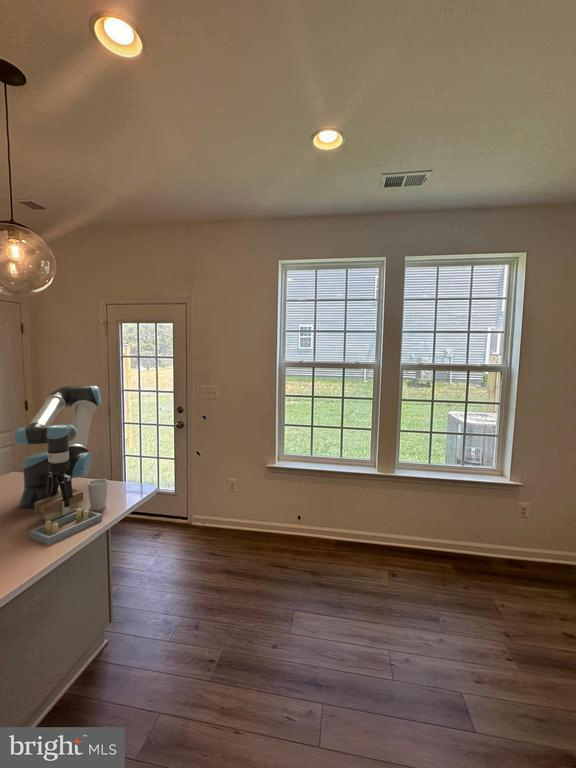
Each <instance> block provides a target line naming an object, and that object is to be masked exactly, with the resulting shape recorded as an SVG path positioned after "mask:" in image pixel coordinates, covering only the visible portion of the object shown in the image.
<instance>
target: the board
mask: <svg viewBox="0 0 576 768" xmlns="http://www.w3.org/2000/svg"><path fill="white" fill-rule="evenodd" d="M72 491H73V498H71V499H69V506H70V505H72V504H75V503H77V504H78V503H80V502H82V501H84V492H83V491H81V490H79V489H74V488H72ZM61 500H63V498H62V494H61V492H59V494H57V495H54V496H52V497H49V498H46V499H43V500H40V501H37V502H35V508H34V512H36V513H38V514H41V515H42V514H44V515H46V514H49V513H51V512H54V511H56V510H59V509H62V501H61Z"/></svg>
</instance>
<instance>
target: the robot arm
mask: <svg viewBox="0 0 576 768" xmlns="http://www.w3.org/2000/svg"><path fill="white" fill-rule="evenodd" d="M100 390H101V389H100V387H99V386H97V385H64V386H61V387H59V388H56V389H54V390H52V392H50V393H49V394H48V395H46V397H45V399H44V403H43V404H42V407H40V409H39V411H38V412H37V413H36V414H35V416H34V417H33V418H32V420H31V422H30V423H29V424H28V425H27V427H20V428H18V429H16V431H15V433H14V440H15V443H16V444H17V445H20V446H21V445H22V446H23V445H24V446H25V445H26V446H29V445H30V446H31V445H40V444H41V445H42V444H44V445H45V444H47V445H46V446H47V451H43V452H42V451H41V452H37V453H35V454H31V455H29V456H27V457H25V458H24V459H23V467H22V469H23V470H22V471H23V487H24V489H23V491H22V494H21V496H20V501H19V507H21V508H22V509H35V502H37V501H40V500H43V499H46V498H49V497H52V496H54V495H57V494H60V493H61V494H62V498H63V500H61V501H62V515H63V516H67V515H69V514H70V513H71V512H70V511H69V499H71V498H73V491H72V489H73V484H72V480H73V479H77V478H82V477H85V476H86V475H88V473H89V472H90V470H91V466H92V460H93V455H92V453H91V452H90V450H89V449H88V448H87V445H88V440H89V434H90V430H91V429H90V428H91V424H92V418H93V412H95V411H96V410H97V408H98V407H100V406H101V405H102V395H101V391H100ZM66 407H71V408H72V409H73V415H72V416H73V417H72V419H71V420H72V421H71V424H57V425H56V424H55V425H54V424H53V425H52V423H53V422H54V421H55V420H56V417H57V416H58V414H59V413H60V411H61V410H63V409H65V408H66ZM58 489H60V491H59V490H58Z"/></svg>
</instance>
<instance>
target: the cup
mask: <svg viewBox="0 0 576 768" xmlns="http://www.w3.org/2000/svg"><path fill="white" fill-rule="evenodd" d="M87 488H88V498H89V504H90V505H89V508H90V511H99V510H103V509H105V508H106V507H107V494H108V493H107V492H108V479H106V478H97V479H92V480H90V481H88V482H87Z"/></svg>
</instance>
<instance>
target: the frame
mask: <svg viewBox="0 0 576 768" xmlns="http://www.w3.org/2000/svg"><path fill="white" fill-rule="evenodd" d="M82 519H83V521H82ZM74 520H76V522H78V523H77V524H75V525H73V526H70V527H68V528H66V529H63V530H60V531H59V527H60V526H62V525H65V524H67V523H69V522H72V521H74ZM101 521H103V514H101V513H99V512H95V511H93V510H89V509H85V508H82V507H79V508H78V507H77V509H76V510H75V511H74V512H71V514H70V513H69V514H66V515H64V516H61V517H59V518H57V519H54V520H53V521H52V520H51V521H50V520H49V521H46V520H45V521H44V523H45V524H43V525H40V526H38V527H36V528H33V529H31V530H29V531H28V533H29V538H31V539H33V540H36V541H39V542H40V543H43V544H46V545H48V546H50V545H52V544H53V543H56V542H58V541H60V540H62V539H65V538H67V537H69V536H71V535H73V534H75V533H77V532H79V531H82V530H84V529H86V528H88V527H90V526H92V525H94V524H97V523H99V522H101ZM44 533H45V534H44ZM51 534H52V535H51Z"/></svg>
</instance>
